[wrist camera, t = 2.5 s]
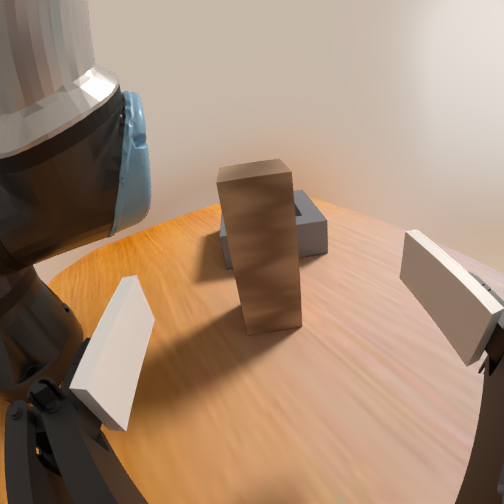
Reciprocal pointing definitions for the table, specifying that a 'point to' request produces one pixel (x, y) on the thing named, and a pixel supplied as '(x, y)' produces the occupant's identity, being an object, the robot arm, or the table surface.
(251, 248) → the walnut block
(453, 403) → the table surface
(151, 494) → the table surface
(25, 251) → the robot arm
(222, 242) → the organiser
